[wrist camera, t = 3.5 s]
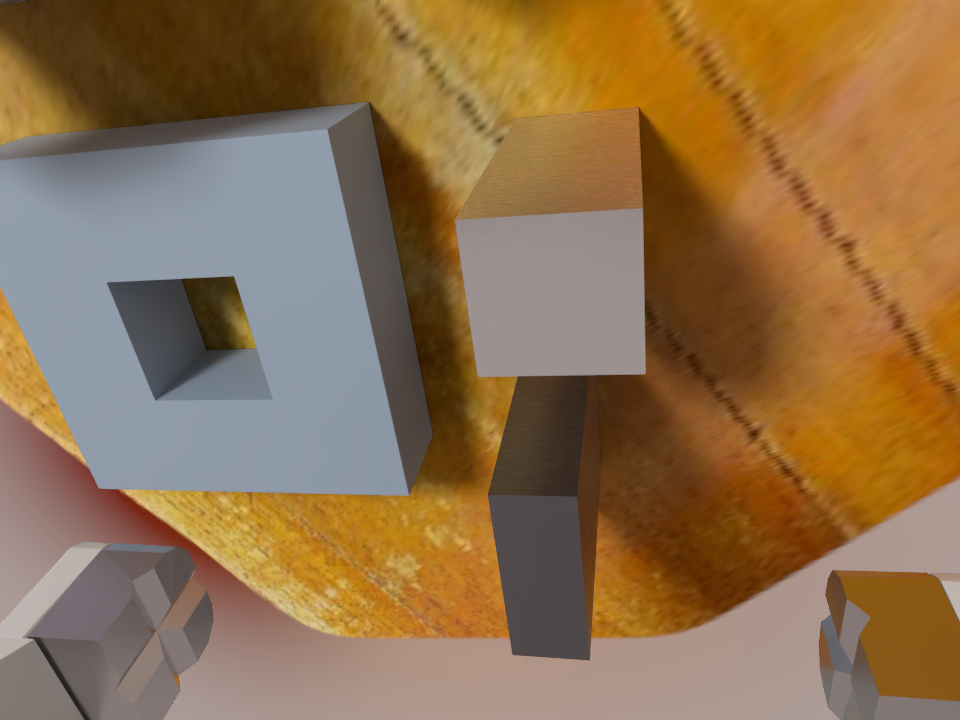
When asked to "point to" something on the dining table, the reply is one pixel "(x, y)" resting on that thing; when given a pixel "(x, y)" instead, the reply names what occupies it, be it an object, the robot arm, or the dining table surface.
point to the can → (10, 1)
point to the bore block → (262, 287)
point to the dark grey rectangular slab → (548, 514)
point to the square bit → (558, 249)
